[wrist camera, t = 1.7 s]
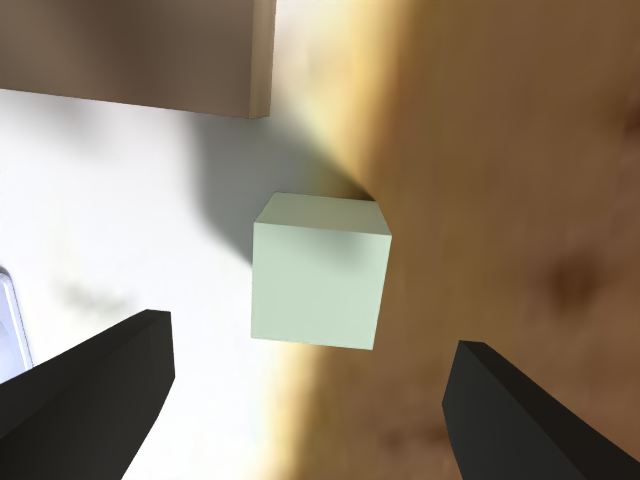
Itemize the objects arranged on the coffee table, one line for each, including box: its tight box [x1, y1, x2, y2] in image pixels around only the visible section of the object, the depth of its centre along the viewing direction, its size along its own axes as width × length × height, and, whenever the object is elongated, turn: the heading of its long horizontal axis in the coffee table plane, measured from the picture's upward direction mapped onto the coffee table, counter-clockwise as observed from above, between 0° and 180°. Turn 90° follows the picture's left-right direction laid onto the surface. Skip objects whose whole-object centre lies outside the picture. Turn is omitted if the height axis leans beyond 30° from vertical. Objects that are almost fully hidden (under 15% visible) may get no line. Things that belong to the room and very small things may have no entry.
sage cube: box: [251, 192, 392, 350], centre depth 14 cm, size 4×4×4 cm
